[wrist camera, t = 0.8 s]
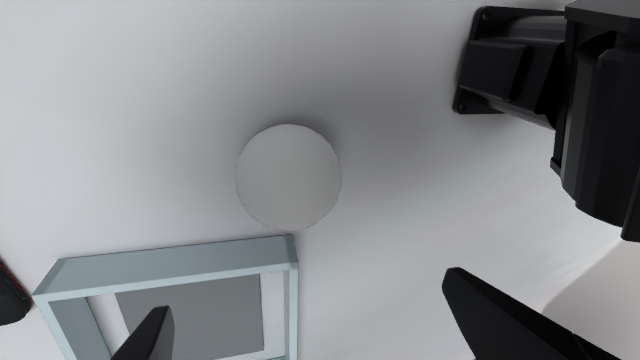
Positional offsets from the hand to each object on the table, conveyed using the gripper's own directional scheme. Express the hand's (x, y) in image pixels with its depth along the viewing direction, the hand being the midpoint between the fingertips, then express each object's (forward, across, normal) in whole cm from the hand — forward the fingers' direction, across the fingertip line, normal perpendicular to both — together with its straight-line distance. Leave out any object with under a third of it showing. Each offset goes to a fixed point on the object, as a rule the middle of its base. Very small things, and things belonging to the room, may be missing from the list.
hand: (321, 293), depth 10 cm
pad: (+12, +7, +14) cm, 20 cm away
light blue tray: (+12, +7, +14) cm, 20 cm away
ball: (+12, 0, 0) cm, 12 cm away
